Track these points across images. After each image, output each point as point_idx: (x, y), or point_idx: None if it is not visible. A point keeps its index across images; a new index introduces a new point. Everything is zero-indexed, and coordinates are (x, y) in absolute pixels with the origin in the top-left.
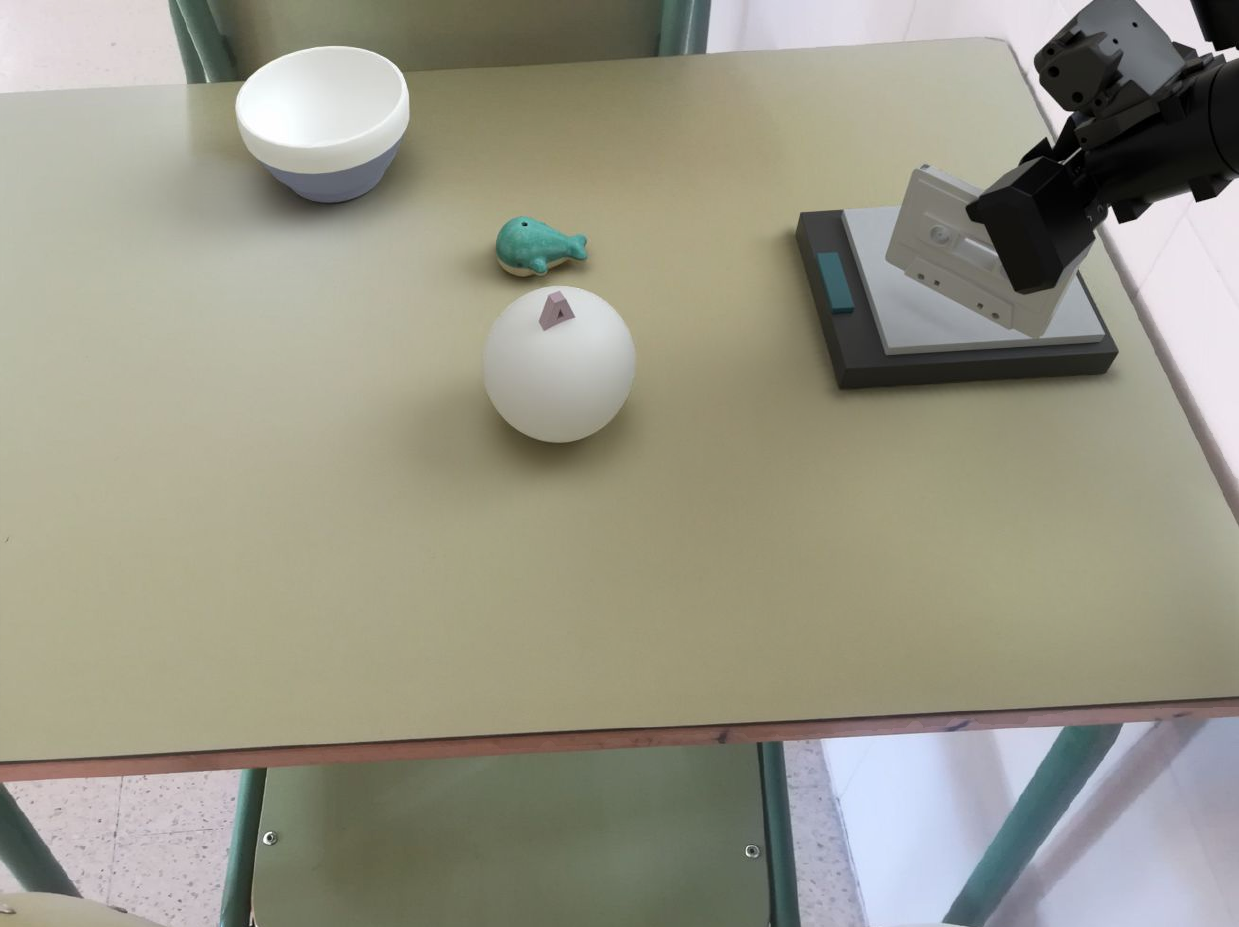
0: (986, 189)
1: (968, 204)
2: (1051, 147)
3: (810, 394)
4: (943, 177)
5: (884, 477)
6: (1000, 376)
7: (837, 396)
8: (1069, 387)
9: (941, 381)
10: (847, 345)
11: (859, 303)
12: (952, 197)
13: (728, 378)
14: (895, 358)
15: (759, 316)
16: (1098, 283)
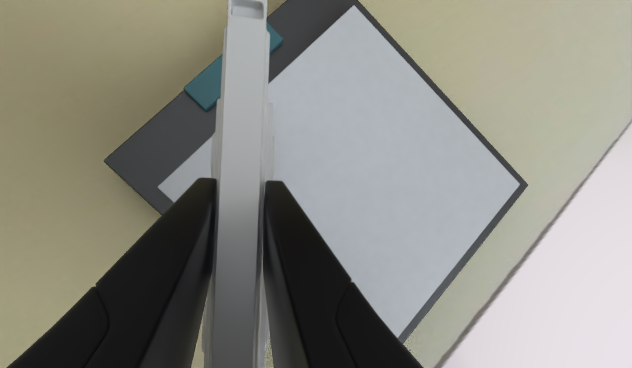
0: (280, 189)
1: (195, 182)
2: (405, 353)
3: (87, 142)
4: (236, 71)
5: (19, 289)
6: None
7: (107, 170)
8: None
9: None
10: (143, 139)
11: None
12: (219, 129)
13: (40, 47)
14: (165, 200)
15: (167, 23)
16: (463, 293)
